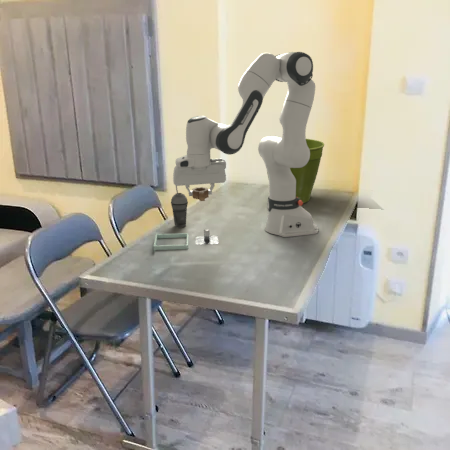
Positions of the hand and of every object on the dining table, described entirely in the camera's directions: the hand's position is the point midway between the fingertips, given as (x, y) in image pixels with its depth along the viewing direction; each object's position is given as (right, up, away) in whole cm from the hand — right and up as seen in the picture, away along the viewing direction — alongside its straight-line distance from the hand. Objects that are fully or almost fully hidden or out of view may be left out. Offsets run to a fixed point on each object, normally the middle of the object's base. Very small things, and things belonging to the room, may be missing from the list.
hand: (200, 194), depth 203 cm
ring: (0, -1, -1) cm, 2 cm away
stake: (+2, -19, +7) cm, 20 cm away
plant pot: (+43, +1, +61) cm, 75 cm away
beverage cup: (-10, -13, +23) cm, 29 cm away
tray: (-12, -20, +4) cm, 23 cm away
